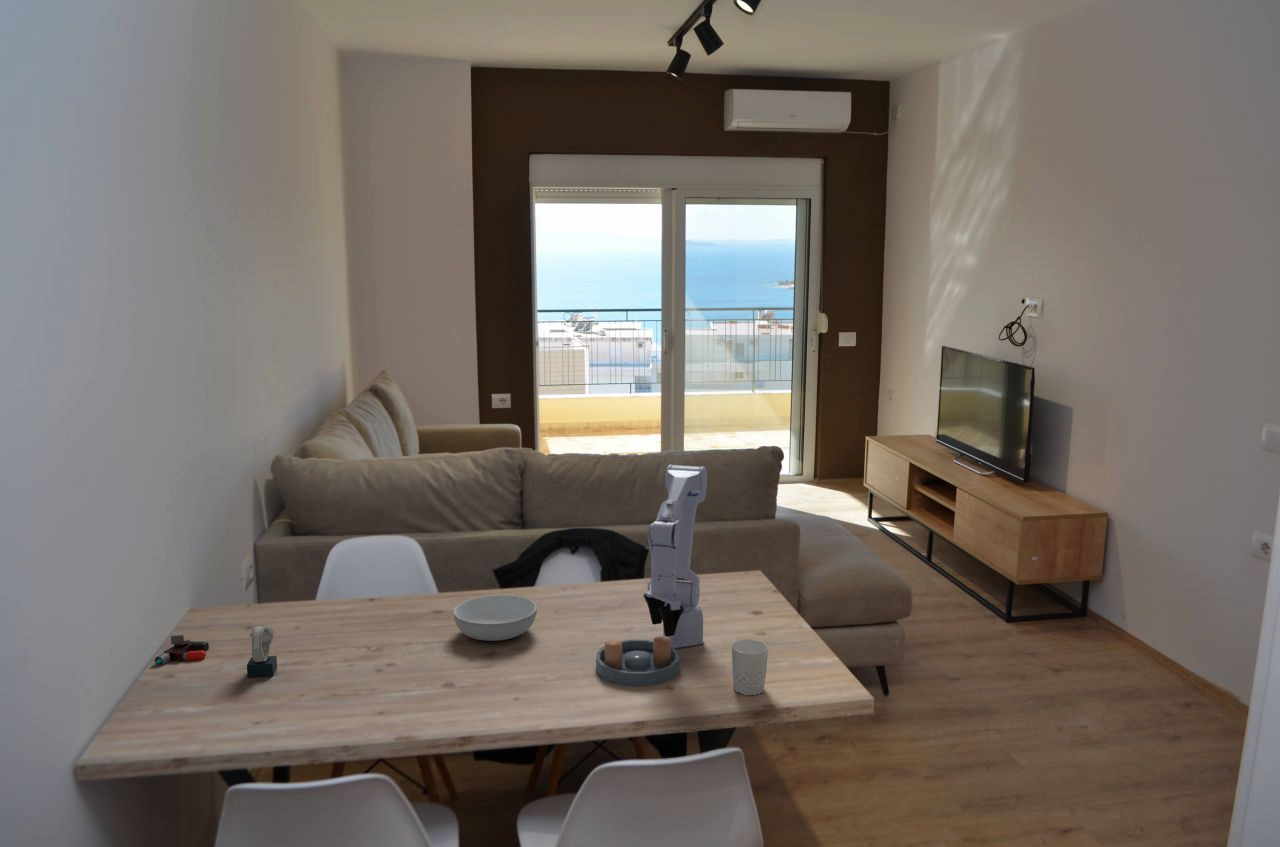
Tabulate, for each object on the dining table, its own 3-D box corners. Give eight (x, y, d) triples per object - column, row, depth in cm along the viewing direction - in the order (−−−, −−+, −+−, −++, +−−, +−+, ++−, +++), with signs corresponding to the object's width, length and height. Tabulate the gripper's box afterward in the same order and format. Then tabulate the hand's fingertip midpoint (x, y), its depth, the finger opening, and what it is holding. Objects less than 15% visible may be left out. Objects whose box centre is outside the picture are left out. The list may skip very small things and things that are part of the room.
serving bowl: (527, 615, 254) (527, 590, 253) (545, 644, 235) (545, 618, 233) (448, 624, 248) (448, 598, 246) (460, 655, 228) (459, 628, 227)
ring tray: (659, 647, 233) (659, 635, 233) (691, 678, 216) (692, 665, 215) (585, 658, 226) (585, 646, 226) (612, 691, 209) (612, 678, 208)
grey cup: (743, 700, 205) (744, 656, 204) (724, 685, 212) (725, 643, 211) (774, 692, 209) (775, 649, 207) (753, 678, 216) (754, 636, 214)
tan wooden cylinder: (618, 663, 221) (618, 638, 220) (624, 669, 218) (624, 645, 217) (602, 665, 220) (602, 641, 219) (608, 672, 216) (608, 647, 215)
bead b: (666, 659, 224) (667, 635, 223) (673, 666, 220) (673, 641, 219) (650, 661, 222) (651, 637, 221) (656, 668, 219) (657, 643, 218)
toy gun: (149, 667, 221) (147, 647, 220) (185, 647, 233) (184, 628, 232) (185, 672, 219) (183, 652, 218) (220, 651, 230) (218, 632, 229)
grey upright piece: (279, 665, 222) (276, 620, 220) (271, 679, 214) (268, 633, 212) (253, 666, 221) (250, 621, 219) (245, 681, 213) (242, 634, 211)
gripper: (635, 565, 223) (635, 620, 225) (659, 584, 209) (659, 643, 212) (663, 562, 225) (663, 616, 227) (688, 581, 212) (688, 639, 214)
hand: (663, 629), depth 220 cm, fingers open, 7 cm apart
